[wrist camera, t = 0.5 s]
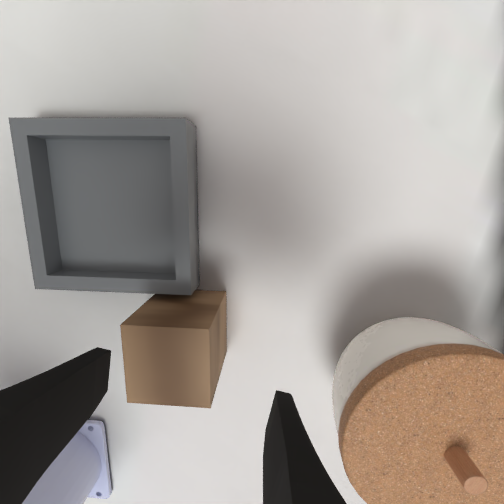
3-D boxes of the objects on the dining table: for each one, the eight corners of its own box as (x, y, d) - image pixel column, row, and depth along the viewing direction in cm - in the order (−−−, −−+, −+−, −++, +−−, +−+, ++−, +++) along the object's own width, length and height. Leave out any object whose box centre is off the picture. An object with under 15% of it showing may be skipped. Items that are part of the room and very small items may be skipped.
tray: (59, 278, 22) (34, 288, 20) (38, 125, 20) (8, 117, 17) (199, 284, 21) (191, 295, 19) (195, 126, 19) (185, 117, 17)
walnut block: (164, 347, 23) (127, 402, 17) (161, 288, 22) (120, 324, 16) (226, 351, 22) (210, 408, 17) (226, 291, 21) (209, 329, 16)
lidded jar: (294, 385, 23) (308, 517, 14) (364, 268, 20) (438, 333, 11) (413, 441, 23) (506, 608, 14) (496, 333, 21) (674, 448, 11)
